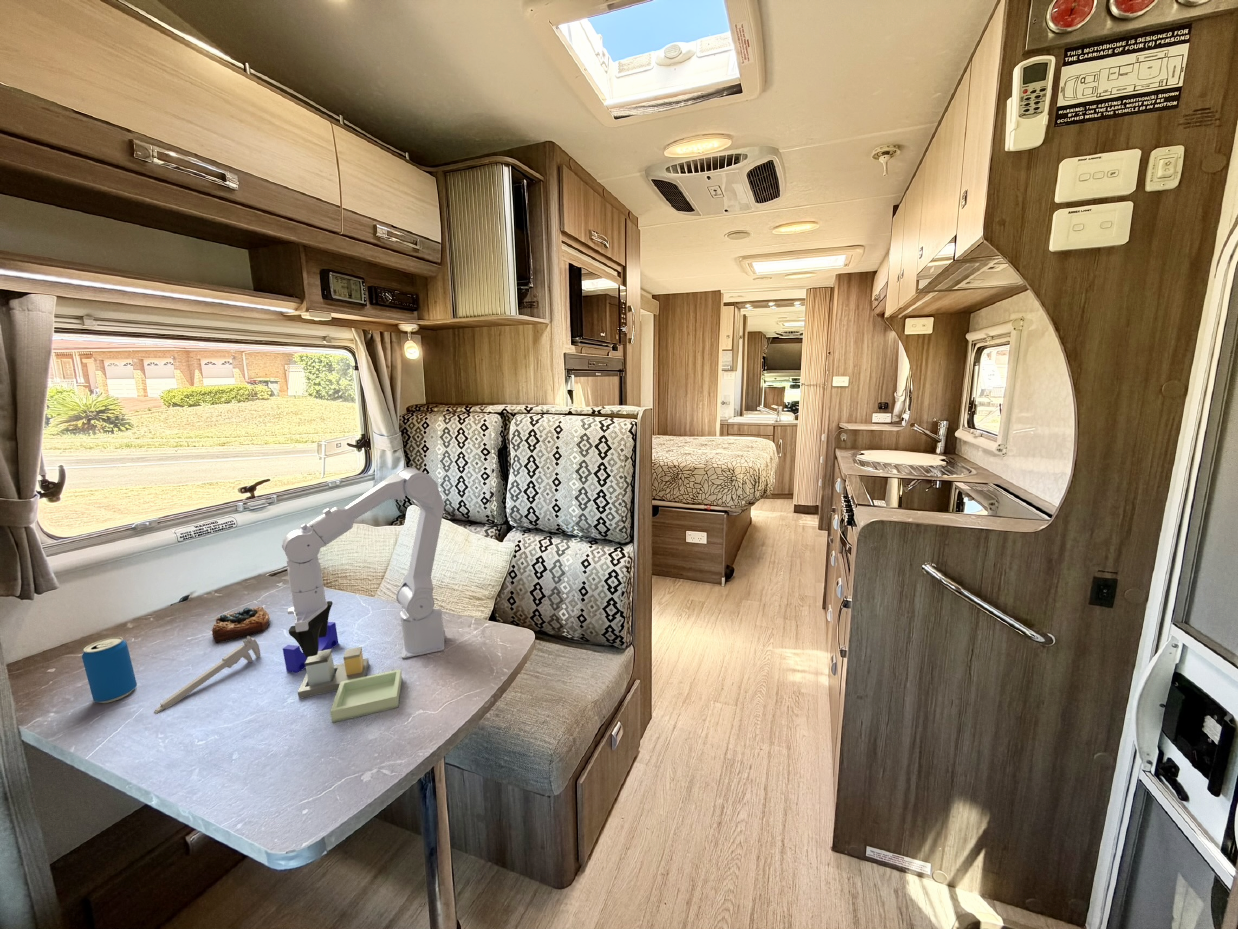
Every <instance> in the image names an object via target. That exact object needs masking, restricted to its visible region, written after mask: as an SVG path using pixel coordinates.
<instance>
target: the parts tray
mask: <svg viewBox="0 0 1238 929" xmlns="http://www.w3.org/2000/svg"><path fill="white" fill-rule="evenodd" d="M402 682H403V675H402V669H401V668H399V669H395V670H390V671H385V672H380V673H376V674H375V673H374V674H371V675H366V677H361V678H356V679H351V680H347V681H342V682H340V685H339V688H338V690H336V693H335V697H334V700H333V703H332V706H331V709H330V710H329V711H330V713H329V714H330V717H331V718H330V719H331V723H332V724H334V723H337V722H341V721H346V720H350V719H354V718H359V717H363V716H367V715H372V714H376V713H381V712H384V711H388V710H389V711H390V710H392V709H393V710H394V709H398V708H399V704H400V696H401V690H402V689H401V688H402Z"/></svg>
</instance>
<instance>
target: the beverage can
mask: <svg viewBox="0 0 1238 929" xmlns="http://www.w3.org/2000/svg"><path fill="white" fill-rule="evenodd" d="M81 659H82V662H83V667H84V670H85V674H86V678H87V682H88V685H89V689H90V693H91V696H92V700H93V702H95V703H101V704H109V703H112V702H115V701H118V700H121V699H123V698H125V697H127V696H129V695H130V694H131V693H133V690H135V688H137V686H138V683H137V680H136V674H135V671H134V667H133V663H132V658H131V655H130V650H129V646H128V643H127V641H125V640H124V638H123V637H121V636H113V637H107V638H105V639H104V638H103V639H101V640H97V641H95V642H92V643H90V644H88V645H87V646H86V647H84V648H83V653H82V655H81Z"/></svg>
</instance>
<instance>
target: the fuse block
mask: <svg viewBox="0 0 1238 929" xmlns="http://www.w3.org/2000/svg"><path fill="white" fill-rule="evenodd" d="M363 655H364V654H363V647H362V646H360V647H359V646H358V647H355V648H348V649H346V650H345V651H344V655H343V661H344V662H341V663H338V664H334V671H335V677H334V679H333V681H331V682H326V683H321V684H317V685H312V686H309V683H308V677H307V673H306V674H305V676H304V678H303V681H302V682H301V684H300V686H299V688H298V691H297V695H298V699H303V698H308V697H312V696H317V695H321V694H327V693H331V692H337V691H338V688H339V685H340V682H342V681H347V680H351V679H356V678H361V677H366V676H367V672H368V668H369V666H370V665H369V664H370V662H369V657H367V658H364V656H363Z"/></svg>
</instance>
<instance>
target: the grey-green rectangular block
mask: <svg viewBox="0 0 1238 929" xmlns="http://www.w3.org/2000/svg"><path fill="white" fill-rule="evenodd" d="M332 649H333V648H332ZM332 649H328V650H323V651H318V654H317V655H315V656H310V657H308V658H307V660H306V662H305V666H306V667H305V669H306V670H305V671H306V674H307V677H308V683H309V686H312V685H317V684H321V683H326V682H331V681H333V679H334V677H335V671H334V665H335V664H334V659H333V658H334V657H333V650H332Z"/></svg>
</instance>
